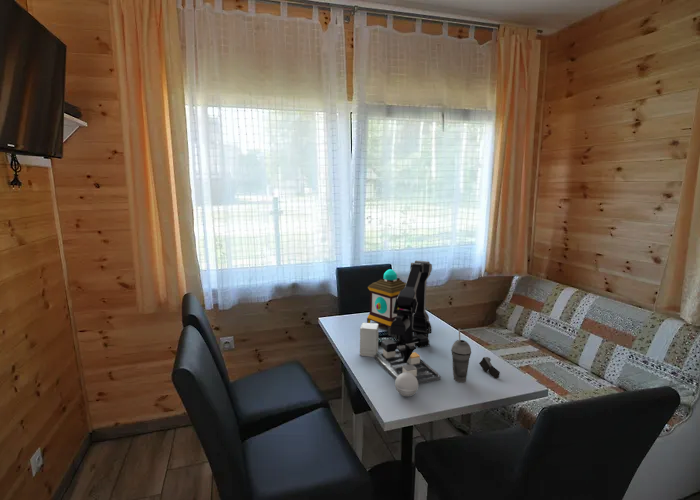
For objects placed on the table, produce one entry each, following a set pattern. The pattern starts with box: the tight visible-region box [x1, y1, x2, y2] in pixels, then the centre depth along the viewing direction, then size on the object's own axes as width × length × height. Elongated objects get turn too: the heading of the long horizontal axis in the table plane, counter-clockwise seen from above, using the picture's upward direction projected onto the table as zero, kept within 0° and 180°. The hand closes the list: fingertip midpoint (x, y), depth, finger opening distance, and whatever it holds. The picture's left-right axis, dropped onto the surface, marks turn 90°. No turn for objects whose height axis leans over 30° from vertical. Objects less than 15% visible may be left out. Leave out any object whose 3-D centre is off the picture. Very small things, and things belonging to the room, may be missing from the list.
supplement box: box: [359, 322, 379, 358], centre depth 160 cm, size 7×7×13 cm
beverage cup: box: [450, 328, 472, 383], centre depth 137 cm, size 7×7×20 cm
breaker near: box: [402, 364, 417, 376], centre depth 138 cm, size 4×4×3 cm
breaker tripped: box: [407, 351, 421, 364], centre depth 148 cm, size 4×4×3 cm
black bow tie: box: [478, 356, 501, 379], centre depth 143 cm, size 9×2×6 cm
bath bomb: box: [394, 372, 419, 398], centre depth 128 cm, size 8×8×8 cm
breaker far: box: [382, 348, 397, 358], centre depth 153 cm, size 4×4×3 cm
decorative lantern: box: [366, 268, 406, 328], centre depth 193 cm, size 20×20×30 cm
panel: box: [374, 350, 441, 385], centre depth 147 cm, size 16×25×2 cm, turn 21°
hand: (404, 362), depth 147 cm, fingers closed
